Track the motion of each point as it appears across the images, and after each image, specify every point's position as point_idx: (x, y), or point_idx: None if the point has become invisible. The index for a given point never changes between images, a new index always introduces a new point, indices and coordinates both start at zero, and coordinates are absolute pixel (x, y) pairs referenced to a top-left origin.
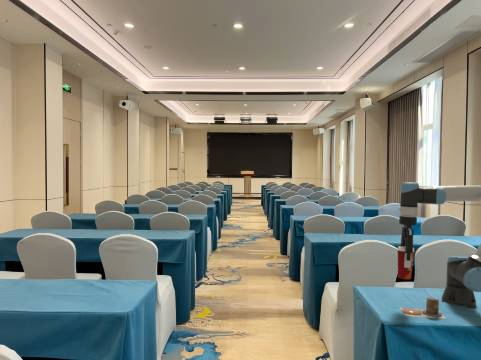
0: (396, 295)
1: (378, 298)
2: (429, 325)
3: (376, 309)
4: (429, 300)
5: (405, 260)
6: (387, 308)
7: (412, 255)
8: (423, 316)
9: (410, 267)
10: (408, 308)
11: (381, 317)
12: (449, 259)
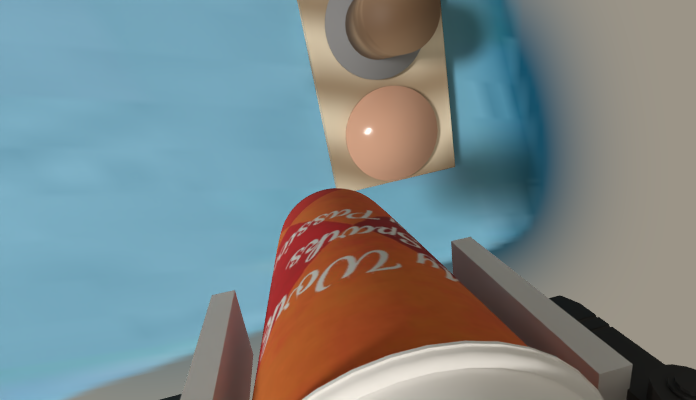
0: (22, 214)
1: (168, 296)
2: (510, 57)
3: None
4: (430, 38)
5: None
6: None
7: (487, 314)
8: (438, 78)
9: (473, 241)
10: (353, 150)
11: None
12: None
